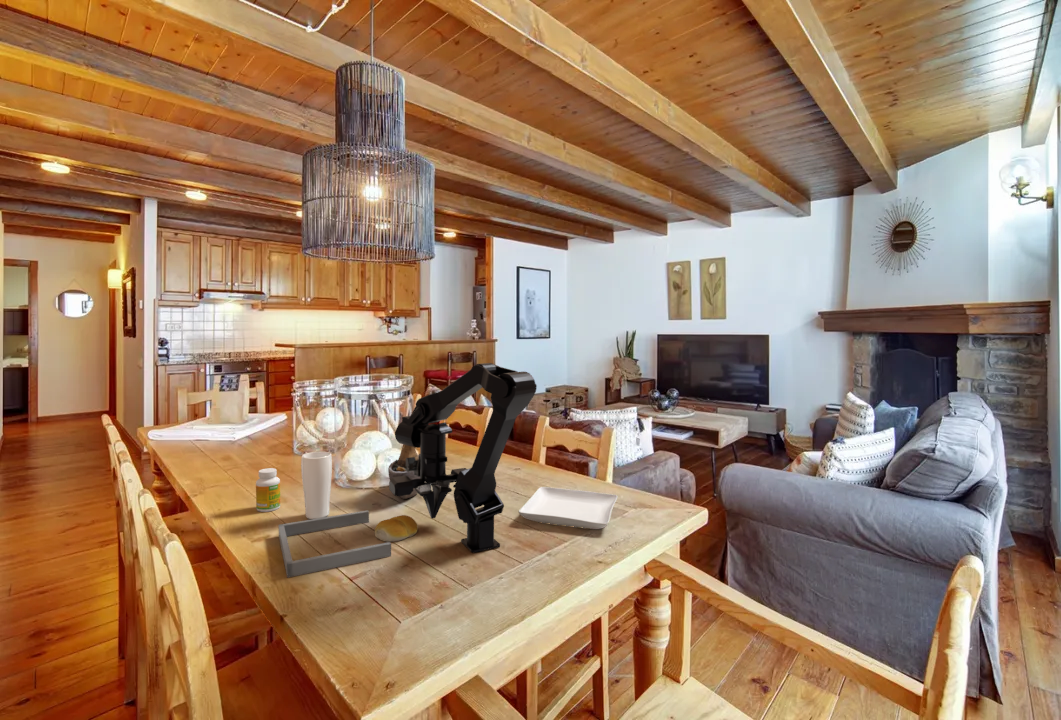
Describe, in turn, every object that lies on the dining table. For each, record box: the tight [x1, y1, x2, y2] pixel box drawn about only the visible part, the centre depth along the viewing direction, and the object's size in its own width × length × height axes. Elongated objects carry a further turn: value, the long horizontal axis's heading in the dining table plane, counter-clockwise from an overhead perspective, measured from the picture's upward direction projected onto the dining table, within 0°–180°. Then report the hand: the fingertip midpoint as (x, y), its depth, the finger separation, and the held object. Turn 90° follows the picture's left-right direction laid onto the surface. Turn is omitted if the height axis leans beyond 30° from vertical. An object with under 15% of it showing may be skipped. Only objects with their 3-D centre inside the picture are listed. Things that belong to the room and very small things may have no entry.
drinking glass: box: [300, 451, 333, 520], centre depth 125 cm, size 7×7×15 cm
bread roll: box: [374, 514, 418, 543], centre depth 115 cm, size 8×9×4 cm
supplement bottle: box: [255, 467, 281, 513], centre depth 129 cm, size 5×5×10 cm
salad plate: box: [518, 486, 618, 530], centre depth 129 cm, size 21×21×3 cm
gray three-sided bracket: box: [278, 509, 392, 578], centre depth 109 cm, size 21×19×2 cm
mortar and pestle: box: [387, 444, 420, 500], centre depth 141 cm, size 15×17×20 cm
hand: (432, 517), depth 120 cm, fingers closed
